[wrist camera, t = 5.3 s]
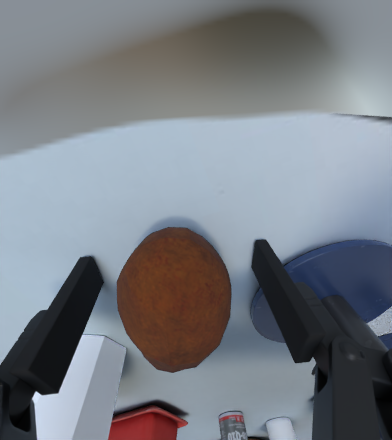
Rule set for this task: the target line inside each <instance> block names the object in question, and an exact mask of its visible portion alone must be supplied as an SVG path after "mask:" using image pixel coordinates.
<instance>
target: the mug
mask: <svg viewBox="0 0 392 440" xmlns="http://www.w3.org/2000/svg"><path fill="white" fill-rule="evenodd" d="M126 350H127V348H125V347H123V346H122V345H120V344H118V343H116V342H114V341H113V340H111V339H109V338H107V337H105V336H98V335H84V334H82V337H81V339H80V342H79V344H78V346H77V349H76V351H75V354H74V356H73V359H72V361H71V364H70V366H69V369H68V371H67V373H66V376H65V378H64V381H63V383H62V386H61V388H60V391H59V393H58V394H50V395H40V394H39V393H38V392H35V394H34V396H33V398H32V400H33V402H34V404H35V418H36V431H37V440H108V436H109V432H110V427H111V422H112V417H113V412H114V407H115V403H116V398H117V393H118V388H119V383H120V379H121V374H122V369H123V364H124V359H125V355H126Z"/></svg>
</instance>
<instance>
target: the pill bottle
mask: <svg viewBox="0 0 392 440" xmlns="http://www.w3.org/2000/svg"><path fill="white" fill-rule="evenodd" d="M219 424H220V432H221V440H248V438H247V433H246V428H245V423H244V418H243V414H242V413H241V412H234V411H233V412H227V413H224V414H222V415H220V416H219Z"/></svg>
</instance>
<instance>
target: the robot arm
mask: <svg viewBox="0 0 392 440" xmlns="http://www.w3.org/2000/svg"><path fill="white" fill-rule="evenodd" d="M252 269H253V271H254V273H255V276H256V278H257V280H258V282H259V285H260V287H261V289H262V291H263V293H264V296H265V298H266V300H267V302H268V304H269V307H270V309H271V311H272V313H273V316H274V318H275V320H276V322H277V324H278V327H279V329H280V331H281V333H282V335H283V338H284V340H285V342H286V344H287V347H288V349H289V351H290V353H291V355H292V358H293V360H294V362H295V363H302V362H310V360H311V358H312V357H314V359H315V361H316V363H317V364H316V366H315V367H314V369H313V370H312V375H314V374H315V389H314V408H313V428H312V440H381V437H380V432H381V435H382V438H383V440H392V348H391V349H389V350H388V351H387V352H385V351H381V350H376V349H372V348H367V347H364V346H361V345H359V344H358V343H357V342H356V341H355V340H353V339H351V338H349V337H347V336H346V335H345V334H344V332H343V331H342V330H341V329H340V327H339V326H338V324H337V323H336V322H335V320H334V319H333V317H332V316H331V315H330V313H329V312H328V311H327V309H326V308H325V306H324V305H323V304H322V302H321V301H320V299H318V297H317V295H316V294H315V293H314V291H313V290H312V289H311V288H310V287H309V286H308V285H306V284H305V283H304V282H298V283H294V282H293V281H292V279H291V278H290V276H289V274H288V273H287V271H286V270H285V268H284V267H283V265H282V264H281V262H280V261H279V259H278V257H277V256H276V254H275V253H274V251H273V250H272V248H271V247H270V245H269V244H268V242H267V240H256V242H255V249H254V255H253V262H252ZM103 283H104V282H103V280H102V278H101V276H100V274H99V272H98V270H97V267H96V265H95V263H94V261H93V259H92V257H91V256H90V257H80V259H79V260H78V262H77V263H76V265H75V267H74V268H73V270H72V271H71V273H70V275H69V276H68V278H67V279H66V281H65V283H64V284H63V286H62V287H61V289H60V290H59V292H58V294H57V295H56V297H55V298H54V300H53V302H52V303H51V305H50V306H49V308H48V310H42V311H40V312H39V313H37V314H36V315H35V316H34V317H33V318H32V319H31V320H30V322H29V323H28V325H27V326H26V328H25V329H24V332H22V334H21V335H20V337H19V338H18V341H16V343H15V344H14V346H13V347H12V349H11V350H10V352H9V353H8V354H7V356H6V357H5V359H4V360H3V362H2V363H1V365H0V440H37V431H36V418H35V404H34V402H33V400H32V398H33V396H34V394H35V392H38V393H39V394H40V395H50V394H58V393H59V391H60V388H61V386H62V383H63V381H64V378H65V376H66V373H67V371H68V369H69V366H70V364H71V361H72V359H73V356H74V354H75V351H76V349H77V346H78V344H79V342H80V339H81V337H82V334H83V332H84V329H85V327H86V324H87V322H88V320H89V317H90V315H91V312H92V310H93V307H94V305H95V302H96V300H97V297H98V295H99V293H100V290H101V288H102V285H103ZM379 430H380V431H379Z"/></svg>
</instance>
